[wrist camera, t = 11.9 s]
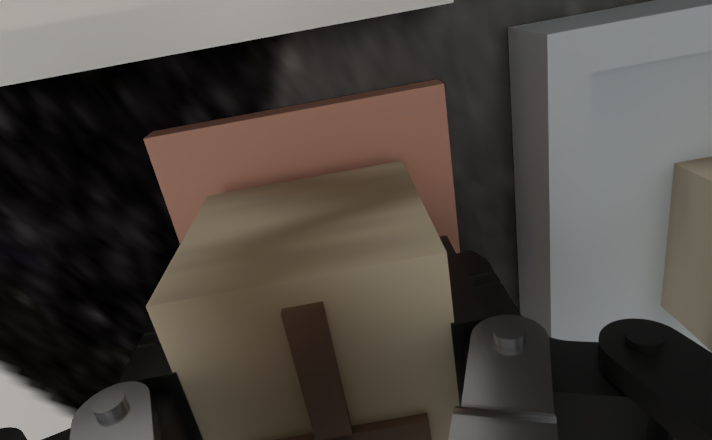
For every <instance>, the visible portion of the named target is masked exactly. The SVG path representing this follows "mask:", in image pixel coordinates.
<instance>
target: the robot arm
mask: <svg viewBox="0 0 712 440" xmlns="http://www.w3.org/2000/svg"><path fill="white" fill-rule="evenodd" d="M439 237H440V239H441V241H442V244H443V246H444V248H445V250H446V252H447V258H448V268H449V277H450V286H451V296H452V305H453V314H454V323H450V324H451V333H452V342H453V351H454V360H455V369H456V378H457V387H458V396H459V405H460V406H455V408H454V410H453V414H452V420H451V427H450V433H449V440H712V353H711V352H710V351H708V350H707V349H705V348H703V347H702V346H700V345H699V344H697V343H696V342H694V341H693V340H691V339H689V338H688V337H686V336H685V335H683V334H682V333H680V332H678V331H677V330H675V329H673V328H672V327H670V326H667V325H665V324H662V323H659V322H656V321H652V320H647V319H636V318H631V319H621V320H617V321H614V322H611V323H609V324H607V325H606V326H605V327H603V329H602V330H601V331H600V333H599V338H598V342H583V341H566V340H560V339H555V338H551V337H549V336H548V333H547V331H546V330H545V329H544V327H543V326H541V325H540V324H539V323H537V322H536V321H534V320H532V319H529V318H526V317H523V316H522V315H521V314H520V312H519V310H518V309H517V307H516V306H515V304H514V302H513V301H512V299H511V298H510V296H509V294H508V293H507V291H506V290H505V288H504V286H503V285H502V284H501V283H500V280H499V278H498V277H497V275H496V274H494V270H493V269H492V267H491V266H490V264H489V262H488V261H487V259H485V258H483V257H482V256H480V255H478V254H477V253H475V252H473V251H467V252H461V253H456V252H455V250H454V248H453V246H452V244H451V243H450V241H449V239H448V237H447V236H446V235H444V236H439ZM137 346H138V348H136V349H135V351H134V353H133V355H132V357H131V359H130V361H129V362H128V364H127V366H126V368H125V370H124V372H123V374H122V376H121V378H120V380H119V382H118V384H116V385H113V386H110V387H108V388H106V389H104V390H102V391H100V392H98V393H97V394H95V395H94V396H92V397H91V398H90V399H88V400H87V401H86V402H85V403H84V404H83V405H82V406H81V407H80V408H79V409H78V411H77V412H76V414H75V415H74V417H73V420H72V424H71V428H70V429H67V430H65V431H63V432H60V433H58V434H55V435H53V436H50V437H48V438H45V439H43V440H203V437H202V435H201V432H200V430H199V427H198V425H197V422H196V420H195V417H194V415H193V412H192V410H191V407H190V405H189V402H188V400H187V397H186V395H185V392H184V390H183V387H182V385H181V382H180V380H179V377H178V375H177V372H173V373H172V370H171V368H170V365H169V363H168V360H167V358H166V355H165V353H164V350H163V348H162V346H161V343H160V341H159V338H158V336H157V333H156V331H155V328H154V326H153V323H152V321H151V320H150V322H149V324H148V326H147V328H146V330H145V332H144V336H142V337H141V339H140V341H139V343H138V345H137ZM0 440H27V439H26V437H25V436H24V434H23V432H22V431H21V430H19V429H17V428H11V427H10V428H1V429H0Z"/></svg>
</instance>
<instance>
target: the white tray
mask: <svg viewBox="0 0 712 440" xmlns="http://www.w3.org/2000/svg"><path fill="white" fill-rule="evenodd" d="M449 3H454V1H453V0H0V87H1V86H7V85H12V84H17V83H23V82H28V81H33V80H39V79H44V78H50V77H55V76H60V75H66V74H71V73H77V72H82V71H87V70H93V69H98V68H104V67H109V66H114V65H120V64H125V63H131V62H136V61H141V60H147V59H152V58H157V57H163V56H168V55H174V54H179V53H184V52H190V51H195V50H201V49H206V48H211V47H217V46H222V45H228V44H233V43H238V42H244V41H249V40H255V39H260V38H265V37H271V36H276V35H281V34H287V33H292V32H298V31H303V30H308V29H314V28H319V27H325V26H330V25H335V24H341V23H346V22H352V21H357V20H362V19H368V18H373V17H379V16H384V15H389V14H395V13H400V12H405V11H411V10H416V9H422V8H427V7H432V6H438V5H443V4H449Z"/></svg>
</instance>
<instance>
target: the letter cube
mask: <svg viewBox="0 0 712 440" xmlns="http://www.w3.org/2000/svg"><path fill="white" fill-rule="evenodd" d="M146 308H147V311H148V313H149V316H150V318H151V321H152V323H153V326H154V328H155V331H156V333H157V336H158V338H159V341H160V343H161V346H162V348H163V350H164V353H165V355H166V358H167V360H168V363H169V365H170V368H171V370H172V373H173V372H177V375H178V377H179V380H180V382H181V385H182V387H183V390H184V392H185V395H186V397H187V400H188V402H189V405H190V407H191V410H192V412H193V415H194V417H195V420H196V422H197V425H198V427H199V430H200V432H201V435H202V437H203V440H449V433H450V427H451V420H452V414H453V410H454V408H455V406H460V405H459V396H458V387H457V378H456V369H455V360H454V351H453V342H452V333H451V324H450V323H454V314H453V305H452V296H451V286H450V277H449V268H448V258H447V252H446V250H445V248H444V246H443V244H442V241H441V239H440V237H439V235H438V233H437V231H436V229H435V227H434V225H433V223H432V221H431V219H430V217H429V215H428V213H427V211H426V209H425V207H424V205H423V203H422V201H421V199H420V196H419V194H418V192H417V190H416V188H415V186H414V184H413V182H412V180H411V178H410V176H409V174H408V172H407V170H406V168H405V166H404V164H403V162H402V161H397V162H391V163H386V164H380V165H375V166H369V167H364V168H358V169H353V170H347V171H342V172H336V173H331V174H325V175H320V176H314V177H309V178H303V179H298V180H292V181H287V182H281V183H276V184H270V185H265V186H259V187H254V188H248V189H243V190H237V191H232V192H226V193H221V194H215V195H210V196H207V197H206V199H205V201H204V203H203V205H202V206H201V208H200V210H199V212H198V214H197V215H196V217H195V219H194V221H193V223H192V224H191V226H190V228H189V230H188V231H187V233H186V235H185V237H184V239H183V240H182V242H181V244H180V246H179V248H178V249H177V251H176V253H175V255H174V257H173V258H172V260H171V262H170V264H169V266H168V267H167V269H166V271H165V273H164V275H163V276H162V278H161V280H160V282H159V284H158V285H157V287H156V289H155V291H154V293H153V294H152V296H151V298H150V300H149V302H148V303H147V305H146Z"/></svg>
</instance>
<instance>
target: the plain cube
mask: <svg viewBox="0 0 712 440" xmlns="http://www.w3.org/2000/svg"><path fill="white" fill-rule="evenodd" d="M661 306H662V307H663V308H664V309H665V310H666V311H668V312H669V313H670V314H671V315H672V316H673V317H674V318H675V319H676V320H677V321H678V322H680V323H681V324H682V325H683V326H684V327H685V328H686V329H687V330H688V331H689V332H690V333H692V334H693V335H694V336H695V337H696V338H697V339H698V340H699V341H700V342H701V343H702V344H704V345H705V346H706V347H707V348H708V349H709V350H710V351H711V352H712V156H711V157H705V158H700V159H694V160H689V161H683V162H678V163H674V171H673V182H672V193H671V203H670V214H669V225H668V236H667V246H666V257H665V268H664V278H663V289H662V300H661Z"/></svg>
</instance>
